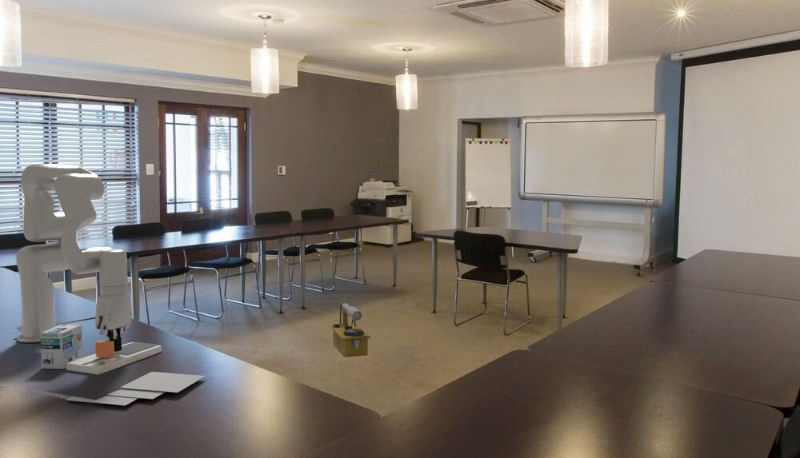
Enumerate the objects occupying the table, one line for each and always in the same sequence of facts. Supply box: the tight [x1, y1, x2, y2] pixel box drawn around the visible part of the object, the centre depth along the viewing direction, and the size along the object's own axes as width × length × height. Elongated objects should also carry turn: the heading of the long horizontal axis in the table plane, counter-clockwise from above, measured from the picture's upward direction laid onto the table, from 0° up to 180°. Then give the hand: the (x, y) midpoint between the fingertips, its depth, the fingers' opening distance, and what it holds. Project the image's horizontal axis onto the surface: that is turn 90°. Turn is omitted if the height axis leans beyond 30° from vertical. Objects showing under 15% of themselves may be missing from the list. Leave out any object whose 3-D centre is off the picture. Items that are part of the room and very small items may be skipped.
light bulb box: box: [40, 324, 83, 370], centre depth 180 cm, size 11×7×11 cm, turn 179°
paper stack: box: [65, 371, 206, 406], centre depth 160 cm, size 23×25×1 cm
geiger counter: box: [330, 302, 372, 358], centre depth 201 cm, size 9×26×15 cm, turn 20°
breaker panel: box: [65, 341, 163, 376], centre depth 184 cm, size 12×25×3 cm, turn 160°
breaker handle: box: [94, 339, 114, 358], centre depth 180 cm, size 4×3×4 cm
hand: (115, 350), depth 184 cm, fingers closed
